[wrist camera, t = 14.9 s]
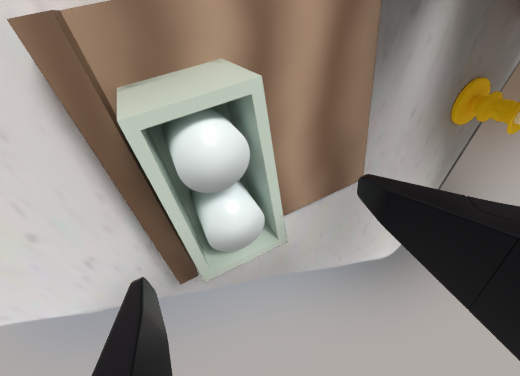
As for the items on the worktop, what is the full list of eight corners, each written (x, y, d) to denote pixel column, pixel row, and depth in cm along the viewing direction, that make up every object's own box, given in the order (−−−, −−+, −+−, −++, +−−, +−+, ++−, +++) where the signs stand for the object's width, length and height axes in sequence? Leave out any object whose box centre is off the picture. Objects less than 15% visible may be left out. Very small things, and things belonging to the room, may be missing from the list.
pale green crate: (221, 58, 15) (261, 75, 11) (255, 198, 22) (287, 241, 18) (116, 88, 14) (117, 120, 10) (187, 227, 20) (205, 282, 16)
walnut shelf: (372, -52, 17) (416, -63, 14) (354, 173, 28) (377, 188, 25) (28, 17, 12) (6, 19, 9) (173, 255, 23) (180, 284, 21)
